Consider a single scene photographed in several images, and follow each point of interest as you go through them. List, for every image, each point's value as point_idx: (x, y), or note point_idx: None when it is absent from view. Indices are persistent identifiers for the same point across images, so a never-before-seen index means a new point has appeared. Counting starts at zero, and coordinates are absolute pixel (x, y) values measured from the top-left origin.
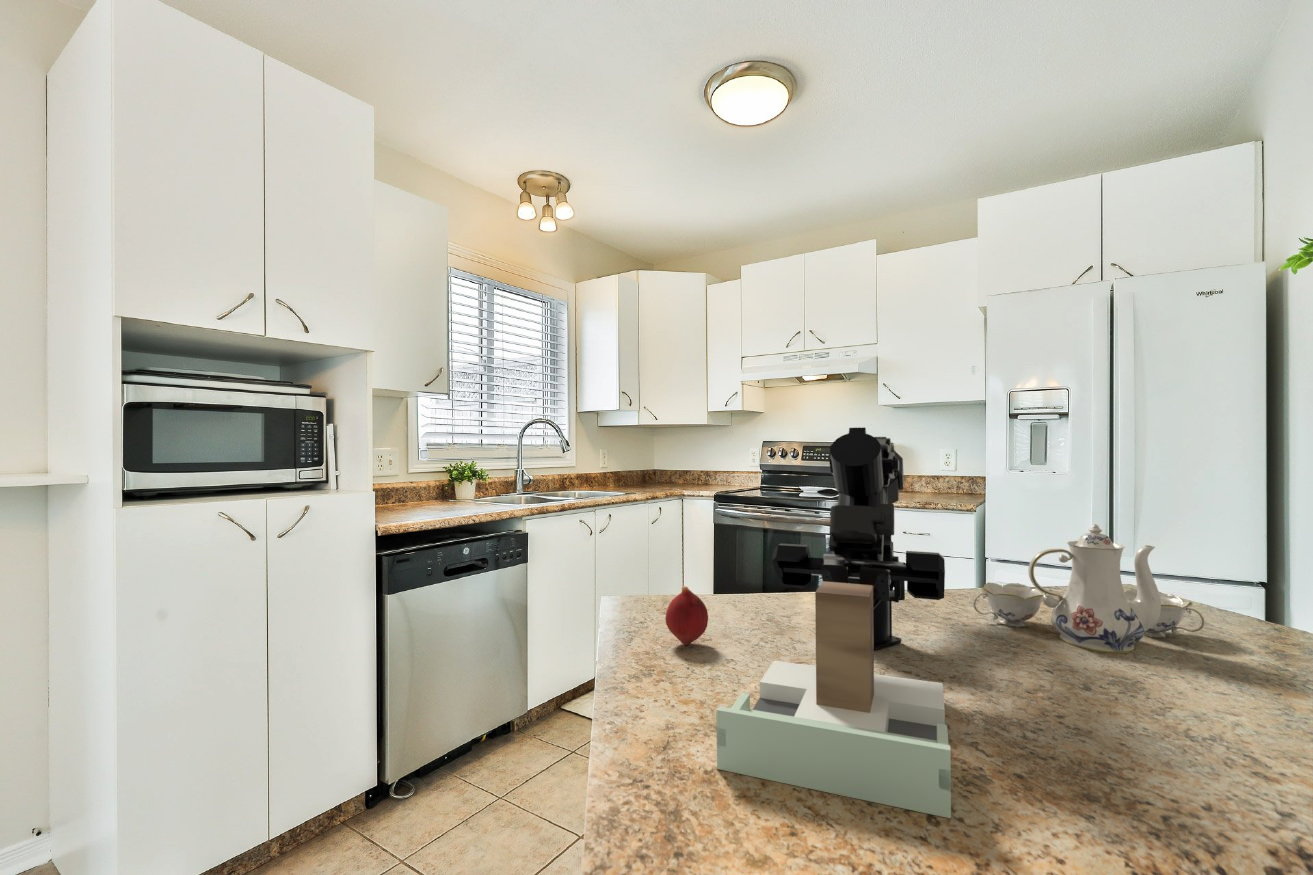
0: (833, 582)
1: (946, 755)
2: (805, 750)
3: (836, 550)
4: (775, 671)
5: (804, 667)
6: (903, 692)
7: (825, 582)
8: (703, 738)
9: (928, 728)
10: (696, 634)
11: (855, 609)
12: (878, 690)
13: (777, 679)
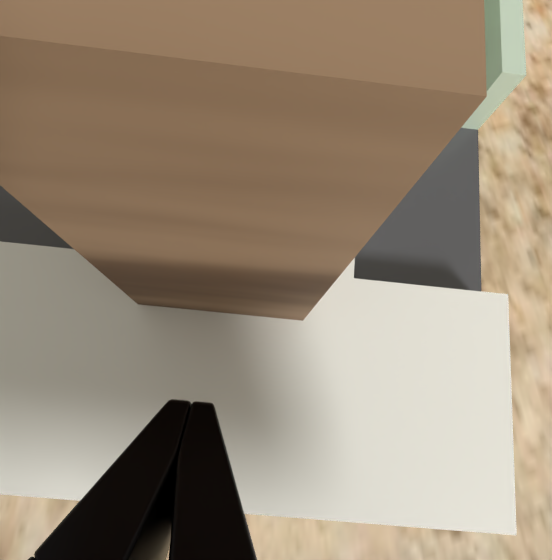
0: (344, 65)
1: None
2: None
3: None
4: (482, 407)
5: (389, 489)
6: (35, 338)
7: (444, 41)
8: (538, 73)
9: (11, 230)
10: None
11: None
12: (120, 333)
13: (458, 332)
